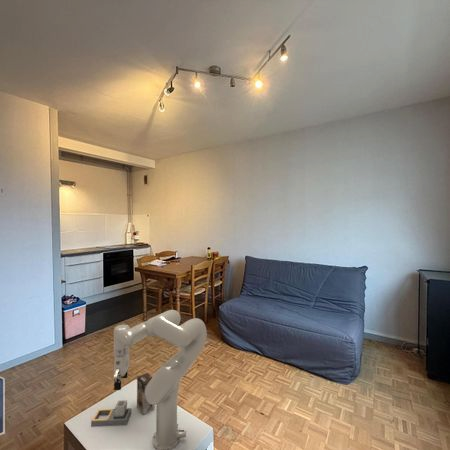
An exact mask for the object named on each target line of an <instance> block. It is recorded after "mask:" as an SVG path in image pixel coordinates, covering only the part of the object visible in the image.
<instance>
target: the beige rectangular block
mask: <svg viewBox="0 0 450 450" xmlns="http://www.w3.org/2000/svg"><path fill="white" fill-rule="evenodd" d="M127 408H128V400H127V399H124V400H122V399H121V400H118V401H117V403H116V404H115V407H114V409H115V419H124V418H125V417H126V415H127Z"/></svg>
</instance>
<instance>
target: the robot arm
mask: <svg viewBox="0 0 450 450" xmlns="http://www.w3.org/2000/svg"><path fill="white" fill-rule="evenodd" d="M181 319H182V318H181V314H180V313H179V312H178V311H177V310H175V309H168V310H166V311H164V312H162V313H160V314H157V315H155V316H153V317H150V318H149V319H148V320H145V321H144V322H141V323H138V324H137V325H134V326H133V327H130V326H129V325H128V324H118V325H116V326H115V327H114V329H113V356H114V359H113V360H114V363H113V383H114V384H113V390H114V391H121V390H122V379H128V370H129V368H130V347H131V346H133V345H135V344H136V343H138V342H139V341H141V340H143V339H145V338H147V337H149V336H153V337H156V336H157V337H159V338H160V339H163V340H164V341H165V342H168V343H169V344H171V345H173V346H174V347H177V348H179V349H178V350H177V352H176V353H175V355H174V356H172V357H171V358H169V359H168V360H167V361H165V363H164V364H162V365H161V366H160V367H159V368H158V369H157V371H156V372H155V373H154V375H153V376H151V377H152V379H151V380H150V381H149V383H148V384H147V386H146V389H145V398H146V400H147V402H148V403H149V404H151V405H154V406H156V413H155V415H156V416H155V417H156V418H155V420H156V423H155V426H156V427H155V433H154V434H153V437H152V445H153V447H154V449H156V450H172V449H174V448H175V447H176V446H177V445H178V443H179V442H180V439H181V438H186V437H187V431H186V430H185V427H179V423H178V399H179V398H178V395H179V388H180V383H181V379H183V377H184V376H185V375H186V374H187V373H188V371H189V369H190V367H192V365H193V364H194V363H195V361H196V359H197V358H198V356H199V355H200V353H201V352H202V351H203V349H204V347H205V345H206V342H207V336H208V335H207V333H208V332H207V328H206V324H205V322H204V321H203V320H202V319H200V318H196V317H195V318H191V319H188V320H187V321H185V322H183V323H182V324H180V322H181ZM179 324H180V325H179Z"/></svg>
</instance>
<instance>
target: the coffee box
mask: <svg viewBox="0 0 450 450" xmlns="http://www.w3.org/2000/svg"><path fill="white" fill-rule="evenodd" d="M152 377H153V376H152V375H150V373H148V372H146V373H144V374H141V375H139V376H137V377H136V378H137V379H136V383H137V384H136V407H137V408H138V409H139V411H140V412H141V414H142V415H143V416H144V415H147V414H149V412H151V411H154V410H155V405H151V404H149V403H148V402H147V400H146V398H145V389H146V386H147V384H148V383H149V381H150V380H151V379H152Z"/></svg>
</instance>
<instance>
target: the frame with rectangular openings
mask: <svg viewBox="0 0 450 450" xmlns="http://www.w3.org/2000/svg"><path fill="white" fill-rule="evenodd" d="M131 415H132V408H130V407H127V415H126V417H125V418H124V419H115V408H101V409H100V408H99V409H98V410H97V411H96V412H95V415H94V416H93V418H92V420H91V421H90V424H91V425H90V426H91V427H109V426H126V425H127V424H128V421H129V419H130V417H131ZM101 416H102V417H103V416H107V417H106V418H99V417H101Z"/></svg>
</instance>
